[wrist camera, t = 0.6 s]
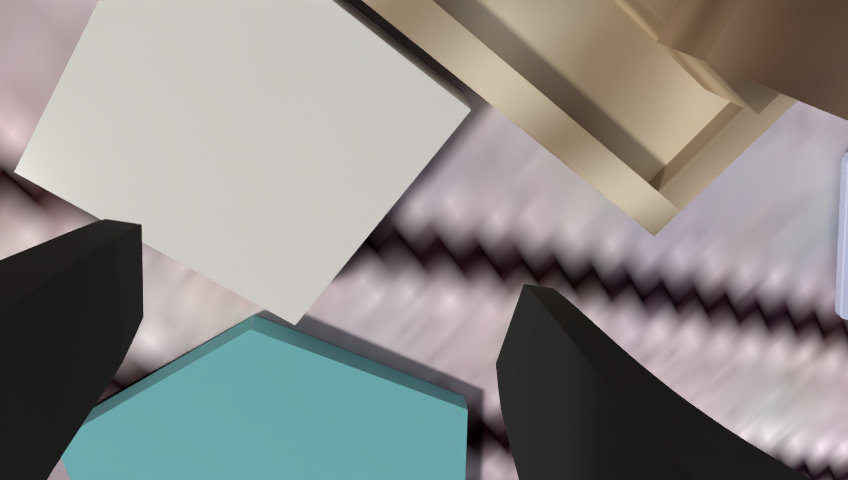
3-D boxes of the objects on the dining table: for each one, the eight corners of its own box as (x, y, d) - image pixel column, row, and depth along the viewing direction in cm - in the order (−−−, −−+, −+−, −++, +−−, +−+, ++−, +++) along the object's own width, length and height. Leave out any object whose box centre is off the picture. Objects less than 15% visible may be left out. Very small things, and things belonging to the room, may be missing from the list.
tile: (463, 93, 19) (471, 110, 17) (302, 294, 22) (294, 325, 21) (189, -125, 16) (164, -133, 14) (48, 150, 19) (14, 171, 17)
